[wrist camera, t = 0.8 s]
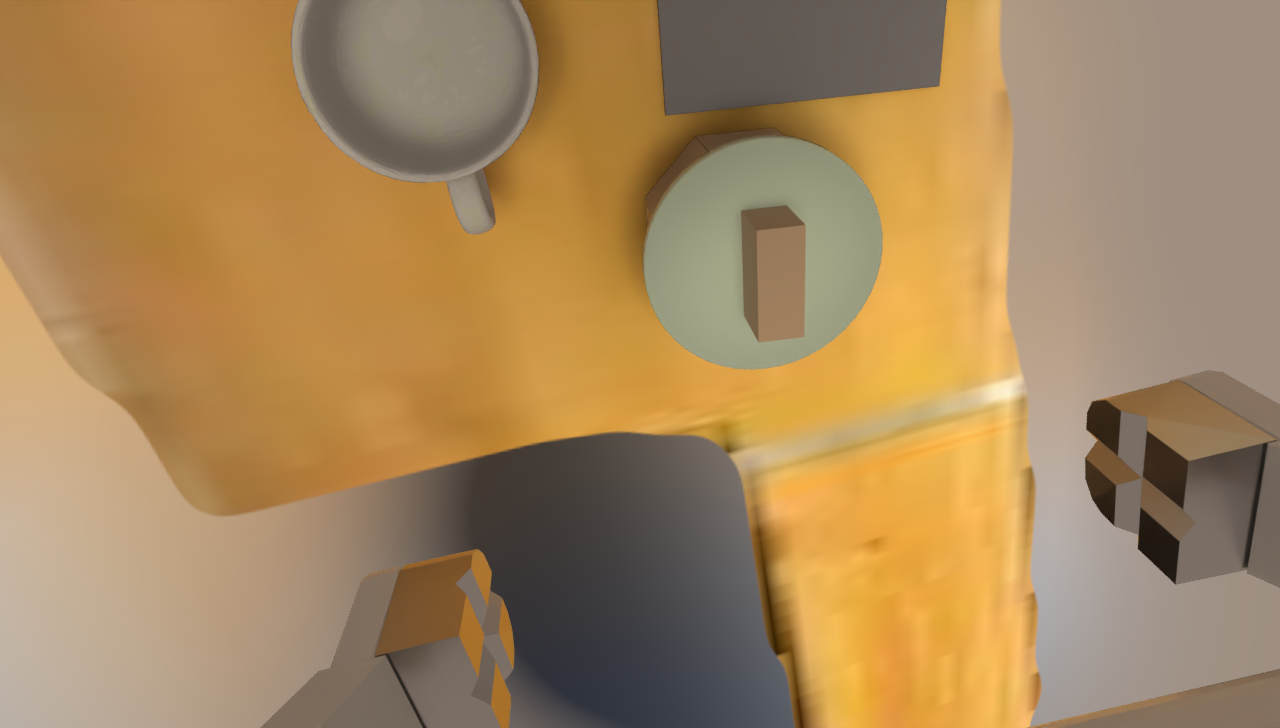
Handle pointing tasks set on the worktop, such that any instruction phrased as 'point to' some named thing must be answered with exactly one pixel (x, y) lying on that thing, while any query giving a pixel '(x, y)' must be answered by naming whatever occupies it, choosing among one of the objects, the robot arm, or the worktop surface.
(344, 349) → the worktop surface
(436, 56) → the teacup
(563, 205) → the worktop surface
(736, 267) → the lid
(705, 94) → the mat
